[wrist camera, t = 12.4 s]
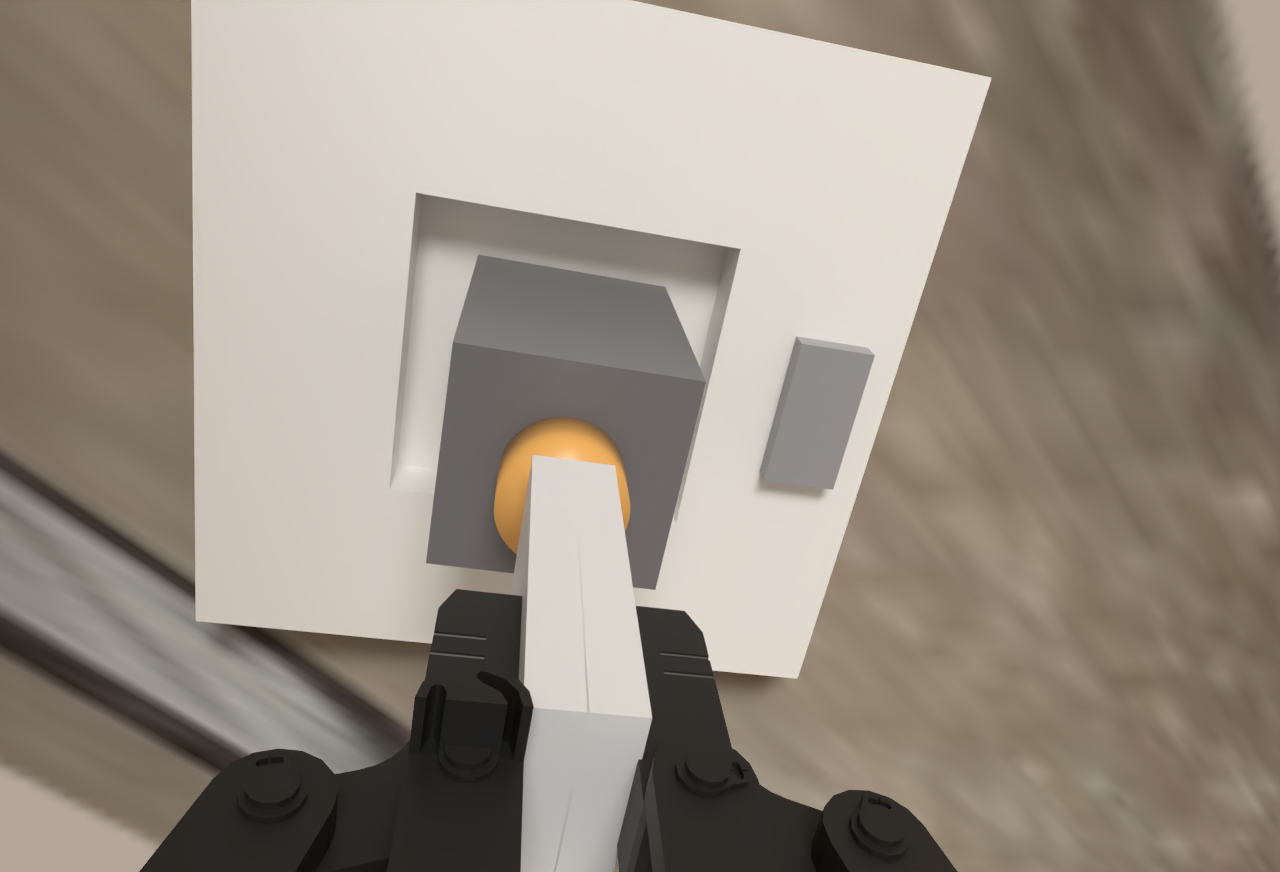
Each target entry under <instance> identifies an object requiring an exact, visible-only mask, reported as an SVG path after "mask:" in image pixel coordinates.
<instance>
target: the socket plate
mask: <svg viewBox="0 0 1280 872" xmlns="http://www.w3.org/2000/svg"><path fill="white" fill-rule="evenodd" d="M191 26H192V169H193V312H194V456H195V599H196V621H201V622H211V623H221V624H232V625H242V626H253V627H263V628H274V629H284V630H295V631H305V632H315V633H326V634H336V635H347V636H357V637H368V638H378V639H389V640H399V641H410V642H420V643H430V644H432V640H433V635H434V629H435V624H436V618H437V613H438V608H439V607H440V606H441V605H442V604H443V603H444V601H445V600H446V599H447V598H448V597H449V596H450V595H451V594H452V593H453V592H454V591H455V590H456V589H461V590H471V591H480V592H490V593H499V594H508V595H512V582H513V575H514V573H506V572H497V571H488V570H480V569H471V568H463V567H454V566H445V565H437V564H428V563H426V558H427V550H428V541H429V533H430V525H431V517H432V509H433V500H434V492H435V484H436V476H437V468H438V459H439V451H440V443H441V435H442V426H443V418H444V410H445V402H446V394H447V385H448V377H449V369H450V361H451V353H452V344H453V340H454V336H455V333H456V329H457V326H458V323H459V319H460V316H461V312H462V309H463V305H464V302H465V299H466V295H467V292H468V288H469V285H470V281H471V278H472V275H473V271H474V268H475V264H476V261H477V257H478V255H483V256H489V257H495V258H501V259H506V260H512V261H518V262H524V263H530V264H535V265H541V266H547V267H553V268H559V269H564V270H570V271H576V272H582V273H588V274H593V275H599V276H605V277H611V278H617V279H622V280H628V281H634V282H640V283H646V284H651V285H657V286H663V287H666V290H667V292H668V294H669V297H670V299H671V301H672V304H673V306H674V308H675V311H676V313H677V315H678V318H679V320H680V322H681V325H682V327H683V329H684V332H685V334H686V336H687V339H688V341H689V343H690V346H691V348H692V350H693V353H694V355H695V357H696V360H697V362H698V364H699V367H700V369H701V371H702V374H703V376H704V378H705V381H706V384H705V388H704V392H703V396H702V400H701V404H700V408H699V412H698V416H697V421H696V425H695V429H694V433H693V437H692V441H691V445H690V449H689V453H688V458H687V462H686V466H685V470H684V474H683V478H682V482H681V486H680V490H679V495H678V499H677V503H676V507H675V511H674V515H673V519H672V523H671V527H670V532H669V536H668V540H667V544H666V548H665V552H664V556H663V560H662V564H661V569H660V573H659V577H658V581H657V585H656V589H655V590H652V589H643V588H635V587H633V591H634V598H635V604H636V606H643V607H652V608H662V609H671V610H681V611H685V612H686V613H687V614H688V615H689V616H690V618H691V619H692V620H693V621H694V623H695V624H696V625H697V626H698V627H699V629H700V630H701V631H702V632H703V635H704V639H705V643H706V647H707V651H708V655H709V657H708V660H710V663H711V667H712V670H713V671H723V672H733V673H744V674H754V675H765V676H775V677H786V678H796V679H797V678H798V675H799V672H800V669H801V666H802V663H803V660H804V657H805V654H806V651H807V647H808V644H809V641H810V638H811V635H812V632H813V629H814V626H815V623H816V620H817V617H818V613H819V610H820V607H821V604H822V601H823V598H824V595H825V592H826V589H827V586H828V582H829V579H830V576H831V573H832V570H833V567H834V564H835V561H836V558H837V555H838V552H839V548H840V545H841V542H842V539H843V536H844V533H845V530H846V527H847V524H848V521H849V518H850V514H851V511H852V508H853V505H854V502H855V499H856V496H857V493H858V490H859V487H860V483H861V480H862V477H863V474H864V471H865V468H866V465H867V462H868V459H869V456H870V453H871V449H872V446H873V443H874V440H875V437H876V434H877V431H878V428H879V425H880V422H881V419H882V415H883V412H884V409H885V406H886V403H887V400H888V397H889V394H890V391H891V388H892V384H893V381H894V378H895V375H896V372H897V369H898V366H899V363H900V360H901V357H902V354H903V350H904V347H905V344H906V341H907V338H908V335H909V332H910V329H911V326H912V323H913V320H914V316H915V313H916V310H917V307H918V304H919V301H920V298H921V295H922V292H923V289H924V285H925V282H926V279H927V276H928V273H929V270H930V267H931V264H932V261H933V258H934V255H935V251H936V248H937V245H938V242H939V239H940V236H941V233H942V230H943V227H944V224H945V221H946V217H947V214H948V211H949V208H950V205H951V202H952V199H953V196H954V193H955V190H956V186H957V183H958V180H959V177H960V174H961V171H962V168H963V165H964V162H965V159H966V156H967V152H968V149H969V146H970V143H971V140H972V137H973V134H974V131H975V128H976V125H977V122H978V118H979V115H980V112H981V109H982V106H983V103H984V100H985V97H986V94H987V91H988V88H989V84H990V81H991V78H990V77H986V76H981V75H976V74H972V73H967V72H962V71H958V70H953V69H948V68H944V67H939V66H934V65H930V64H925V63H921V62H916V61H911V60H907V59H902V58H897V57H893V56H888V55H883V54H879V53H874V52H869V51H865V50H860V49H855V48H851V47H846V46H841V45H837V44H832V43H827V42H823V41H818V40H813V39H809V38H804V37H799V36H795V35H790V34H785V33H781V32H776V31H771V30H767V29H762V28H757V27H753V26H748V25H743V24H739V23H734V22H729V21H725V20H720V19H716V18H711V17H706V16H702V15H697V14H692V13H688V12H683V11H678V10H674V9H669V8H664V7H660V6H655V5H650V4H646V3H641V2H636V1H632V0H191Z"/></svg>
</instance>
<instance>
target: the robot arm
mask: <svg viewBox="0 0 1280 872" xmlns="http://www.w3.org/2000/svg"><path fill="white" fill-rule="evenodd" d="M708 657H709V655H708V651H707V647H706V643H705V639H704V635H703V632H702V631H701V630H700V629H699V627H698V626H697V625H696V624H695V623H694V621H693V620H692V619H691V618H690V616H689V615H688V614H687V613H686V612H685V611H681V610H671V609H662V608H652V607H643V606H636V604H635V598H634V591H633V584H632V577H631V571H630V564H629V557H628V550H627V543H626V537H625V530H624V523H623V516H622V510H621V503H620V496H619V489H618V482H617V476H616V469H615V465H608V464H600V463H593V462H585V461H577V460H570V459H562V458H554V457H547V456H539V455H532V461H531V468H530V474H529V480H528V487H527V493H526V499H525V506H524V512H523V518H522V525H521V531H520V537H519V544H518V550H517V556H516V563H515V569H514V575H513V582H512V595H508V594H499V593H490V592H480V591H471V590H461V589H456V590H455V591H454V592H453V593H452V594H451V595H450V596H449V597H448V598H447V599H446V600H445V601H444V603H443V604H442V605H441V606H440V607H439V608H438V613H437V618H436V624H435V629H434V635H433V640H432V645H431V651H430V656H429V661H428V667H427V672H426V677H425V681H423V682H422V684H421V686H420V688H419V690H418V692H417V694H416V696H415V703H414V711H413V720H412V729H411V738H410V741H409V742H408V743H407V744H406V746H405V747H404V748H403V749H402V750H401V751H399V752H398V753H397V754H396V755H394V756H393V757H392V758H390V759H388V760H386V761H384V762H382V763H380V764H378V765H375V766H372V767H368V768H364V769H361V770H357V771H351V772H345V773H340V774H334V773H333V772H332V771H331V769H330V768H329V767H328V766H327V765H326V764H325V763H324V762H323V761H322V760H321V759H319V758H317V757H314V756H312V755H310V754H308V753H305V752H303V751H296V750H286V749H274V750H268V751H262V752H256V753H252V754H250V755H248V756H246V757H244V758H241V759H239V760H237V761H235V762H233V763H231V764H229V765H228V766H227V767H226V768H225V769H224V770H223V771H221V772H220V773H219V774H218V775H217V776H216V777H215V778H214V779H213V780H212V781H211V782H210V783H209V785H208V786H207V787H206V788H205V790H204V791H203V792H202V793H201V795H200V796H199V797H198V799H197V800H196V801H195V802H194V804H193V805H192V806H191V807H190V809H189V810H188V811H187V812H186V814H185V815H184V816H183V817H182V819H181V820H180V821H179V822H178V824H177V825H176V826H175V827H174V829H173V830H172V831H171V833H170V834H169V835H168V836H167V838H166V839H165V840H164V841H163V843H162V844H161V845H160V846H159V848H158V849H157V850H156V851H155V853H154V854H153V855H152V856H151V858H150V859H149V860H148V862H147V863H146V864H145V865H144V866H143V868H142V869H141V870H140V872H614V870H615V866H616V862H617V858H618V862H619V872H957V870H956V869H955V868H954V866H953V865H952V864H951V862H950V861H949V859H948V858H947V857H946V855H945V854H944V853H943V851H942V850H941V848H940V847H939V846H938V844H937V843H936V842H935V840H934V839H933V837H932V836H931V835H930V833H929V832H928V831H927V829H926V828H925V826H924V825H923V824H922V823H921V822H920V821H919V820H918V819H917V818H916V817H915V816H914V815H913V814H912V813H911V812H910V811H909V810H908V809H906V808H905V807H903V806H902V805H900V804H899V803H897V802H895V801H894V800H892V799H891V798H889V797H886V796H883V795H880V794H877V793H874V792H871V791H863V790H848V791H845V792H842V793H839V794H836V795H834V796H833V797H832V798H831V799H830V801H829V802H828V803H827V804H826V805H825V807H824V810H823V811H821V810H818V809H815V808H812V807H809V806H806V805H803V804H800V803H797V802H794V801H791V800H788V799H786V798H783V797H781V796H779V795H777V794H774V793H772V792H770V791H769V790H767V789H766V788H764V787H762V786H761V785H759V782H758V779H757V777H756V775H755V773H754V771H753V769H752V767H751V765H750V763H749V762H747V761H746V760H745V759H744V758H743V757H742V756H741V755H740V754H739V753H738V752H737V751H736V750H734V749H732V747H731V743H730V739H729V735H728V731H727V727H726V723H725V719H724V715H723V711H722V707H721V703H720V699H719V695H718V691H717V687H716V683H715V680H713V671H712V667H711V663H710V660H708Z"/></svg>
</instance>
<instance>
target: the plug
mask: <svg viewBox="0 0 1280 872" xmlns="http://www.w3.org/2000/svg"><path fill="white" fill-rule="evenodd" d="M705 384H706V381H705V378H704V376H703V374H702V371H701V369H700V367H699V364H698V362H697V360H696V357H695V355H694V353H693V350H692V348H691V346H690V343H689V341H688V339H687V336H686V334H685V332H684V329H683V327H682V325H681V322H680V320H679V318H678V315H677V313H676V311H675V308H674V306H673V304H672V301H671V299H670V297H669V294H668V292H667V290H666V287H663V286H657V285H651V284H646V283H640V282H634V281H628V280H622V279H617V278H611V277H605V276H599V275H593V274H588V273H582V272H576V271H570V270H564V269H559V268H553V267H547V266H541V265H535V264H530V263H524V262H518V261H512V260H506V259H501V258H495V257H489V256H483V255H478V257H477V261H476V264H475V268H474V271H473V275H472V278H471V281H470V285H469V288H468V292H467V295H466V299H465V302H464V305H463V309H462V312H461V316H460V319H459V323H458V326H457V329H456V333H455V336H454V340H453V344H452V353H451V361H450V369H449V377H448V385H447V394H446V402H445V410H444V418H443V426H442V435H441V443H440V451H439V459H438V468H437V476H436V484H435V492H434V500H433V509H432V517H431V525H430V533H429V541H428V550H427V558H426V563H428V564H437V565H445V566H454V567H463V568H471V569H480V570H488V571H497V572H506V573H514V569H515V563H516V556H517V550H518V544H519V537H520V531H521V525H522V518H523V512H524V506H525V499H526V493H527V487H528V480H529V474H530V468H531V461H532V455H539V456H547V457H554V458H562V459H570V460H577V461H585V462H593V463H600V464H608V465H615V469H616V476H617V482H618V489H619V496H620V503H621V510H622V516H623V523H624V530H625V537H626V543H627V550H628V557H629V564H630V571H631V577H632V584H633V587H635V588H643V589H652V590H655V589H656V585H657V581H658V577H659V573H660V569H661V564H662V560H663V556H664V552H665V548H666V544H667V540H668V536H669V532H670V527H671V523H672V519H673V515H674V511H675V507H676V503H677V499H678V495H679V490H680V486H681V482H682V478H683V474H684V470H685V466H686V462H687V458H688V453H689V449H690V445H691V441H692V437H693V433H694V429H695V425H696V421H697V416H698V412H699V408H700V404H701V400H702V396H703V392H704V388H705Z"/></svg>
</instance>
